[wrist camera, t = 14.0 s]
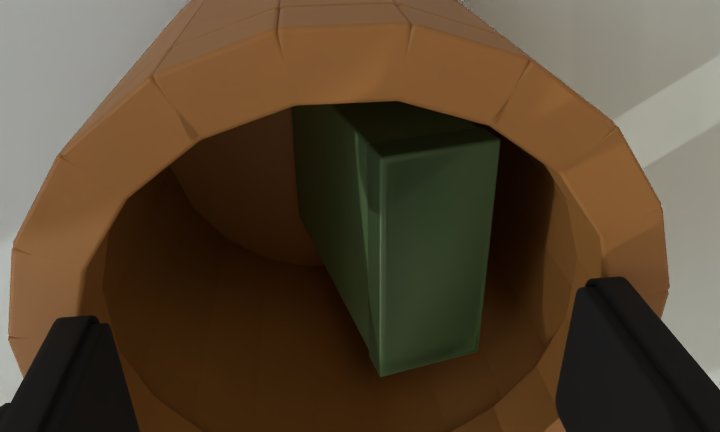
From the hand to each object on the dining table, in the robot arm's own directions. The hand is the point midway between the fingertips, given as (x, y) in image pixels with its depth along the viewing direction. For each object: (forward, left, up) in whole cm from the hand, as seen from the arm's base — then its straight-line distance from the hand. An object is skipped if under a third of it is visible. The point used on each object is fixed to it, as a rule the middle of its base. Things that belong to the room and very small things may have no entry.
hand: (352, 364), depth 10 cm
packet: (0, 0, -10) cm, 10 cm away
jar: (0, 0, -11) cm, 11 cm away
